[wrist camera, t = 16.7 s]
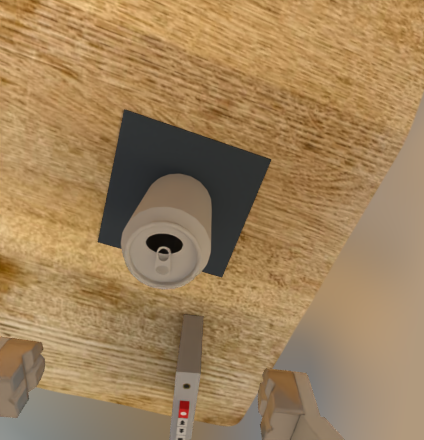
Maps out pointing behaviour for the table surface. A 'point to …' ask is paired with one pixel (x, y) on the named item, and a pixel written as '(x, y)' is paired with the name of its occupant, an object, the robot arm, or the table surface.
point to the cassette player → (187, 378)
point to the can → (169, 233)
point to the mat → (188, 165)
